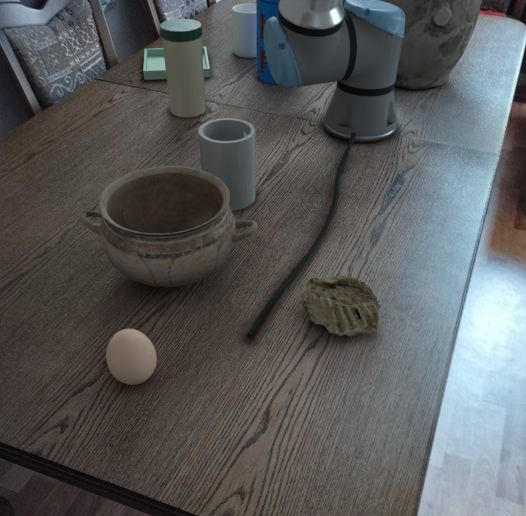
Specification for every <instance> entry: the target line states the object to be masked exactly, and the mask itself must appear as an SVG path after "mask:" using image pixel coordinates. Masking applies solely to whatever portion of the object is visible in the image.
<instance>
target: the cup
mask: <svg viewBox="0 0 526 516" xmlns="http://www.w3.org/2000/svg"><path fill="white" fill-rule="evenodd" d="M197 130H198V131H197V132H198V142H199V143H198V144H199V156H200V170H202V171H206V172H208V173H210V174H212V175H214V176H216V177H217V178H219V179H220V180H222V181H223V182H224V183H225V185H226V186H227V188H228V190H229V194H230V200H229V206H230V208H231V210H232V212H234V211H239V210H242V209H243V210H244V209H245V208H248V207H249V206H251V205H252V204H253V203H254V202H255V200H256V128H255V126H254V124H251V123H250V122H249V121H246V120H243V119H239V118H232V117H225V118H224V117H223V118H215V119H211V120H209V121H205V122H204V123H203V124H202V125H200V126H199V128H198V129H197ZM246 134H247V135H246Z"/></svg>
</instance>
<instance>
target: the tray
mask: <svg viewBox="0 0 526 516" xmlns="http://www.w3.org/2000/svg"><path fill="white" fill-rule="evenodd" d="M143 52H144V53H143V66H142V67H143V68H142V72H143V80H144V81H151V80H152V81H153V80H155V81H157V80H167V77H166V68H165V59H164V51H163V47H160V48H159V47H155V48H153V47H152V48H144V51H143ZM202 53H203V69H204V79H205V78H211V67H210V61H209V55H208V50H207V46H202Z"/></svg>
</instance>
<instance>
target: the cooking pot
mask: <svg viewBox="0 0 526 516" xmlns="http://www.w3.org/2000/svg"><path fill="white" fill-rule="evenodd" d="M229 200H230V194H229V190H228V188H227V186H226V185H225V183H224V182H223V181H222V180H220V179H219V178H217V177H216V176H214V175H212V174H210V173H208V172H206V171H202V170H201V169H199V168H195V167H189V166H180V165H161V166H153V167H147V168H146V167H145V168H142V169H138V170H134V171H132V172H130V173H127V174H124V175H122V176H120V177H118V178H116V179H115V180H113V181H112V182H111V183H109V184H108V186H106V187H105V188H104V190H103V191H102V192H101V193H100V195H99V198H98V206H97V207H98V210H99V211H98V210H89V209H88V210H84V211H83V212H81V214H80V216H79V221H80V222H81V224H82V225H84V226H85V227H86V228H88V229H89V230H91V231H92V232H94V233H96V234H97V235H99V236H100V243H101V247H102V250H103V252H104V254H105V256H106V258H107V259H108V261H109V262H110V263H111V265H112V266H113V267H115V269H116V270H117V271H118V272H119V273H121V274H122V275H123V276H125V277H127V278H128V279H130V280H132V281H135V282H137V283H139V284H143V285H146V286H150V287H157V288H176V287H177V288H178V287H182V286H187V285H192V284H194V283H198V282H200V281H202V280H204V279H207V278H209V277H210V276H211V275H213V274H214V273H216V272H217V271H218V270H219V269H220V268H222V266H223V265H224V264H225V263H226V262H227V260H228V259H229V257H230V255H231V254H232V251H233V249H234V246H235V244H236V243H238V242H240V241H242V240H245V239H247V238H249V237H250V236H251V237H252V235H254V234H255V233H256V232H257V230H258V223H257V222H256V221H254V220H252V219H251V220H249V219H245V220H242V219H235V216H234V213H233V211H232V210H231V208H230V206H229ZM90 217H91V218H99V219H101V223H94V222H92V221H90V220H89V219H88V218H90ZM247 227H249V228H248V229H246V230H244V231H242V232H237V231H239V230H240V229H242V228H247Z"/></svg>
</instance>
